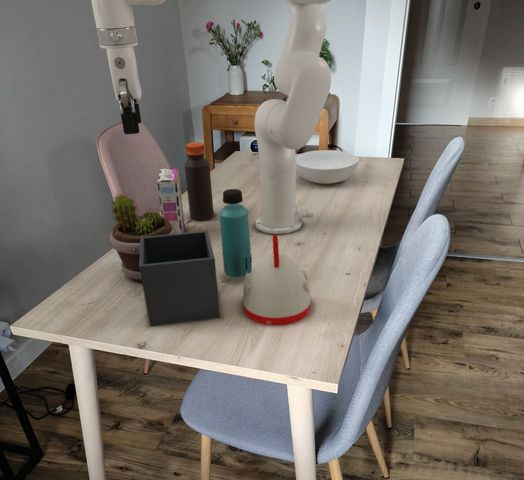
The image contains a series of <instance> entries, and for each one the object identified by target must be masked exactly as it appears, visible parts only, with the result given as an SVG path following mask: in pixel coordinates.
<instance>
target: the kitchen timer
mask: <svg viewBox="0 0 524 480" xmlns="http://www.w3.org/2000/svg"><path fill="white" fill-rule="evenodd" d="M311 299H312V298H311V288H310V283H309V279H308V274H307V271H306V270H303V271H302V269H301V267H300V266H299V265H298V263H297V262H296V261H295V260H293V259H292V258H291V257H290V256H288V255H287V254H285V253H282V252H280V249H279V237H278V234H272V252H270V253H268V254H266V255H264V256H263V257H262V258H261V259H259V260H258V262H256V263H255V265H254V266H253V267H252V270H251V273H250V274H249V273H246V276H245V277H244V285H243V295H242V309H243V312H244V314H245V316H246V317H248V318H249V319H250V320H252V321H254V322H255V323H256V322H257V323H258V324H263V325H268V326H269V325H270V326H284V325H289V324H293V323H296V322H299V321H301V320H302V319H304V318H306V317H307V316H308V315H309V314H310V311H311V305H312V304H311V303H312V302H311V301H312V300H311Z"/></svg>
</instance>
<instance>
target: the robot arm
mask: <svg viewBox="0 0 524 480" xmlns="http://www.w3.org/2000/svg"><path fill="white" fill-rule="evenodd" d="M90 1H91V6H92V12H93V17H94V23H95V27H96V34H97V38H98V44H99V48H100V49H104V50H106V55H107V60H108V66H109V72H110V76H111V81H112V87H113V91H114V95H115V99H116V100H115V101H116V102H118V103H119V107H120V108H119V109H120V118H121V124H122V130H123V134H124V135H136V134H140V125H139V124H141V123H142V116H141V110H140V104H139V103H138V102H140V101H141V100H142V96H143V95H142V93H143V92H142V87H141V81H140V76H139V75H140V74H139V69H138V63H137V57H136V54H135V48H134V47H136V46H138V45H139V42H138V37H137V30H136V24H135V17H134V11H133V6H134V5H137V6H147V7H157V6H160V5H162V4H163V3H165V2H166V1H167V0H90ZM331 1H332V0H286V3H287V7H288V9H289V10H288V11H289V26H288V30H287V34H286V37H285V40H284V43H283V46H282V49H281V52H280V55H279V58H278V61H277V64H276V67H275V69H274V75H273V82H274V86H275V88H276V90H278V91H279V92H280V93H281V94H284V95H285V96H287V99H286V100H283V99H278V98H273V99H267V100H265V101H264V102H262V103H261V104H260V105H259V107H258V108H257V110H256V111H255V115H254V119H253V121H254V124H253V125H254V133H255V139H256V144H257V152H258V153H257V154H258V174H259V177H258V178H259V201H260V202H259V203H260V205H259V206H260V217H258V218H257V219H256V220H255V228H256V229H257V230H258V231H259V232H262V233H265V234H272V235H282V234H283V235H284V234H290V233H292V232H296V231H298V230H299V229H300V228H301V227H302V226H303V225H302V220H303V219H311V218H314V210H312V209H311V210H308V209H307V208H300V209H299V208H298V207H297V170H296V156H297V154H296V151H297V150H300V149H301V148H304V147H305V146H306V145H307V144H308V143H309V142H310V140H311V138H312V137H313V135H314V133H315V131H316V128H317V126H318V124H319V121H320V118H321V115H322V112H323V109H324V107H325V104H326V102H327V100H328V96H329V93H330V90H331V86H332V72H331V68H330V66H329V64H328V62H327V61H326V60H325V59H324V58H323V57H321V56H320V53H321V50H322V47H323V43H324V40H325V37H326V32H327V16H326V10H325V7H324V5H325V4H327V3H330V2H331Z"/></svg>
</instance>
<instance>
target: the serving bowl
mask: <svg viewBox="0 0 524 480" xmlns="http://www.w3.org/2000/svg"><path fill="white" fill-rule="evenodd" d="M358 165H359V157H358V156H357V155H355V154H354V153H351V152H346V151H342V150H334V149H319V150H311V151H306V152H303V153H300V154H298V155H296V173H297V174H298V175H299V176H300V177H301V178H302V179H303V180H306V181H308V182H311V183H314V184H319V185H320V184H321V185H330V184H331V185H332V184H336V183H340V182H343V181H346V180H348V179H349V178H351V177H352V176H353V175H354V173H355V172H356V170H357V168H358Z"/></svg>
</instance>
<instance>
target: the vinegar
mask: <svg viewBox="0 0 524 480" xmlns="http://www.w3.org/2000/svg"><path fill="white" fill-rule="evenodd" d="M185 151H186V156H187V158H188V159H187V160H186V161H185V163H184V173H185V174H184V175H185V183H186V191H187V200H188V208H189V217H190V219H192V220H194V221H197V222H199V221H200V222H201V221H207V220H211V219H212V218H213V217H214V216H215V213H214V201H213V200H214V199H213V193H212V192H213V190H212V180H211V179H212V178H211V177H212V176H211V167H210V162H209V161H208V160H207V159H206V158H205V155H206V150H205V143H203V142H197V141H196V142H194V141H193V142H189V143H186V145H185Z"/></svg>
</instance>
